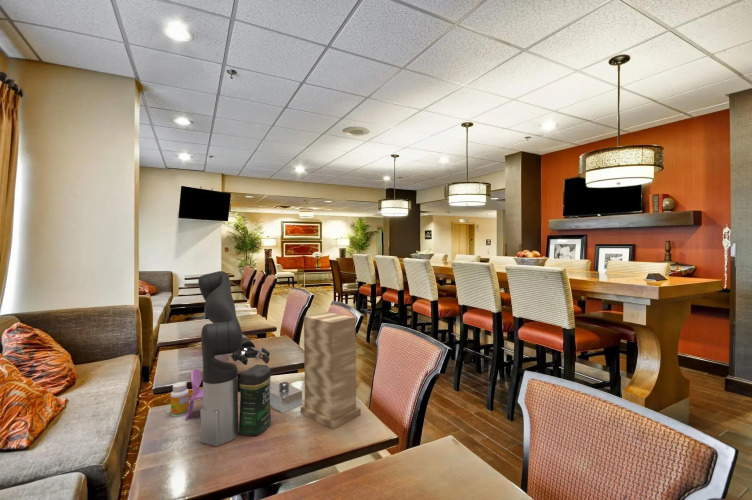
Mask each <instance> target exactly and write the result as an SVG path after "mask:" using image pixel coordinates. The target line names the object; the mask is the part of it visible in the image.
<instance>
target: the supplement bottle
mask: <svg viewBox="0 0 752 500" xmlns="http://www.w3.org/2000/svg"><path fill="white" fill-rule="evenodd" d="M189 402H190V390H189V389H188V387H187V382H186V381H179V382H177V383H174V384H173V385H172V391H171V392H170V415H171V416H172V417H174V418H176V417H178V418H179V417H182V416H184V415H187V414H188V410H189Z"/></svg>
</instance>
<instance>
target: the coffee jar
mask: <svg viewBox="0 0 752 500" xmlns="http://www.w3.org/2000/svg"><path fill="white" fill-rule="evenodd" d="M271 376H272V375H271V368H270V367H269V366H268V365H267V364H255V365H253V366H251V367H248V369H245V370H244V371H243V372H241V373H240V374H239V379H238V387H239V392H240V393H239V394H240V395H239V396H240V397H239V402H240V404H239V417H238V433H240V434H243V435H245V436H255V435H261V433H263V432H264V431H265V430H267V428H268V427H269V426H270V424H271V423H272V414H271V413H272V412H271V406H270V381H271V379H272V377H271Z"/></svg>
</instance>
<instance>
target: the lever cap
mask: <svg viewBox="0 0 752 500" xmlns="http://www.w3.org/2000/svg"><path fill="white" fill-rule="evenodd" d="M271 406H272V407H271ZM301 406H303V390H301V389H300V388H297V387H294V386H293V385H290V383H289V381H282V382H280V383H279V384H278V383H276V382H275V381H272V380H270V407H271V408H273V409H275V410H276V411H278V412H281V413H282V414H284V413H285V412H288V411H290V410H293V409H295V408H298V407H301Z"/></svg>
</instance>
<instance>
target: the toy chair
mask: <svg viewBox="0 0 752 500" xmlns="http://www.w3.org/2000/svg"><path fill="white" fill-rule="evenodd" d="M190 378H191V379H190V381H191V388H192V389H191V390H192V393H193V394H192V395H191V396H190V399H189V410H188V413H187V414H186V418H185V422H187V421H188V420H189V418H190V417H191V414H193V410H194V405H195V401H196V400H203V388H200V385H201V383H203V377H202V374H201V370H200V369H198V368H195V369H192V370H191V372H190ZM189 416H190V417H189Z"/></svg>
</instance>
